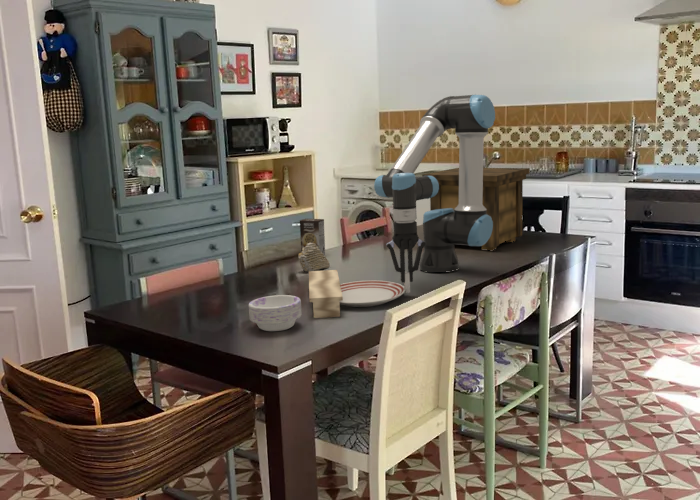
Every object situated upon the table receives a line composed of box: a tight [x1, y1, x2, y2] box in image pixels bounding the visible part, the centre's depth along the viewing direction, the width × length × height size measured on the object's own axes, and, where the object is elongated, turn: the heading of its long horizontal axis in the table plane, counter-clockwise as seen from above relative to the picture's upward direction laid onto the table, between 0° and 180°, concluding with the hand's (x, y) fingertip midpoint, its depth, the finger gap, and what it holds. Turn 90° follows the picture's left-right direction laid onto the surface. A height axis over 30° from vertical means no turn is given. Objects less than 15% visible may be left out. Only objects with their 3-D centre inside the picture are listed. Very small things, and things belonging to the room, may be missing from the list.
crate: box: [422, 167, 531, 250], centre depth 310 cm, size 35×35×33 cm
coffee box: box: [299, 218, 326, 256], centre depth 301 cm, size 9×6×16 cm
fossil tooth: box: [297, 243, 331, 273], centre depth 274 cm, size 12×6×15 cm
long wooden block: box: [308, 269, 343, 319], centre depth 227 cm, size 10×37×6 cm, turn 4°
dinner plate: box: [339, 279, 406, 308], centre depth 228 cm, size 27×27×3 cm
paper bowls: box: [248, 294, 303, 332], centre depth 202 cm, size 15×15×8 cm
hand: (407, 291), depth 229 cm, fingers closed
